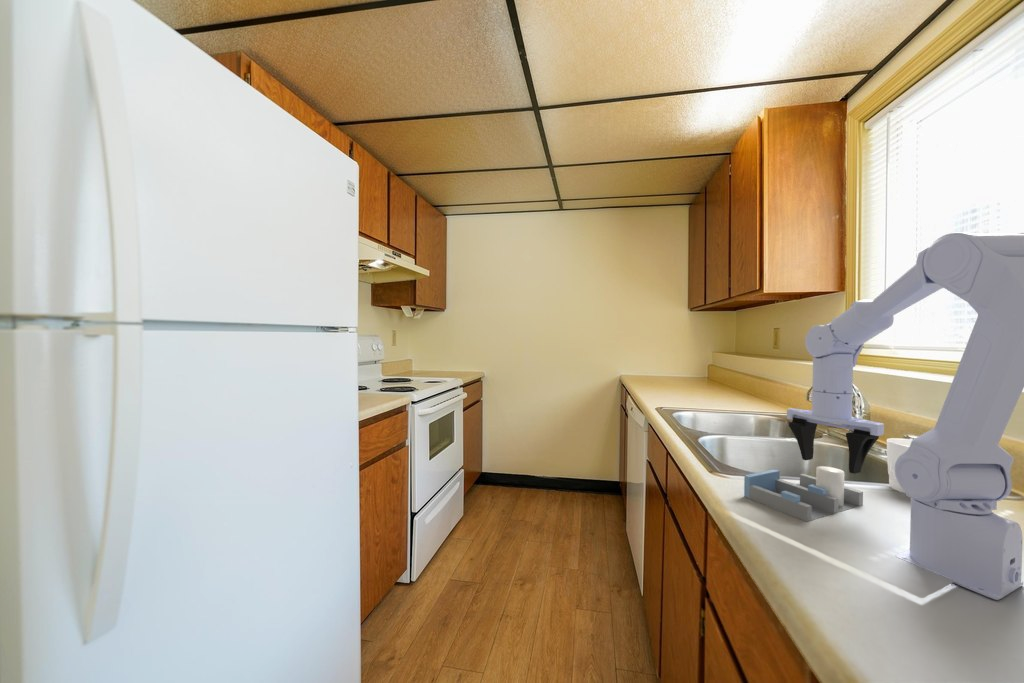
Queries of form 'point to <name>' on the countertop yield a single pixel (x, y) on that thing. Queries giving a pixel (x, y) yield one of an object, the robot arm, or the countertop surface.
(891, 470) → the white cup
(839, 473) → the white rounded cylinder
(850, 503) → the grey and blue rack
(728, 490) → the countertop surface
